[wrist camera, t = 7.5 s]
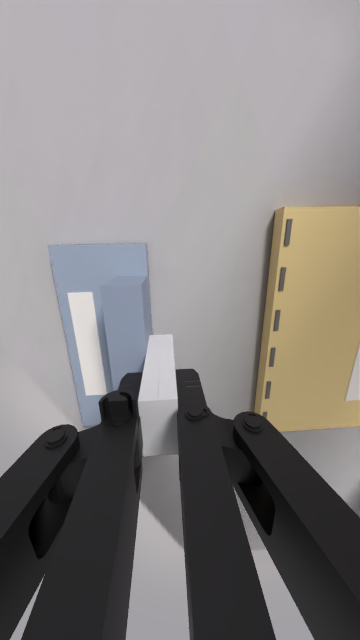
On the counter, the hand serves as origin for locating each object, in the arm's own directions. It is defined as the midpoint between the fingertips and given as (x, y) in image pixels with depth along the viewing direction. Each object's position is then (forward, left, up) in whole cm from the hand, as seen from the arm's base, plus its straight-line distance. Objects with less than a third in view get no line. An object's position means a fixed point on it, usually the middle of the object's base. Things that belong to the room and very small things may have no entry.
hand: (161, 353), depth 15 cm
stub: (0, -4, -2) cm, 4 cm away
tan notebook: (0, +14, -3) cm, 14 cm away
